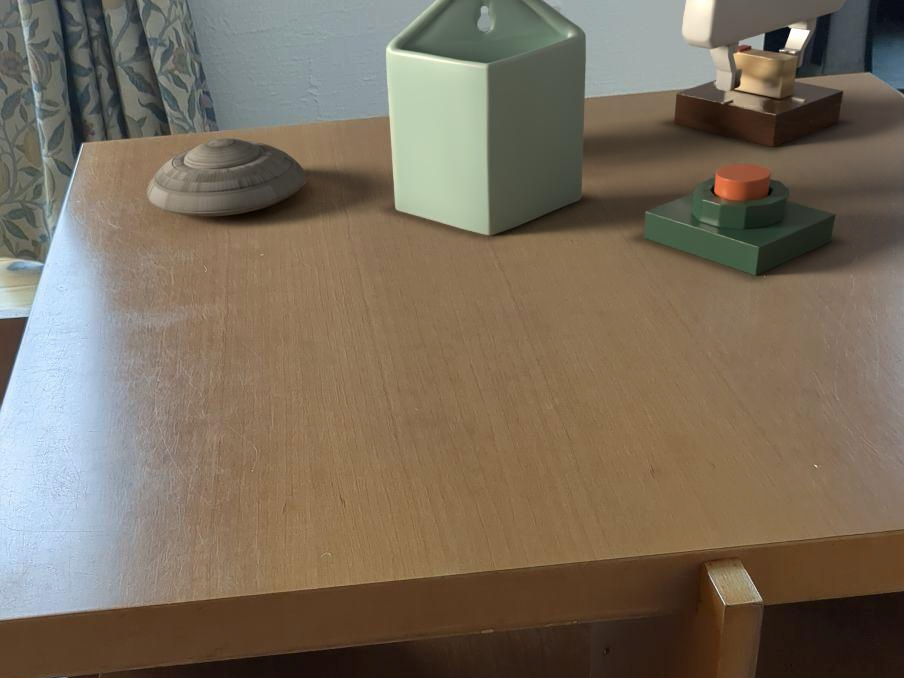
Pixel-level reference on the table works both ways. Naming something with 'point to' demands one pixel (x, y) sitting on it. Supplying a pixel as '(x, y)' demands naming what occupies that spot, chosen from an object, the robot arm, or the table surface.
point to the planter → (487, 113)
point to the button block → (740, 227)
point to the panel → (758, 112)
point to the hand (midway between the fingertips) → (759, 78)
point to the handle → (766, 72)
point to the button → (742, 182)
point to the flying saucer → (225, 179)
